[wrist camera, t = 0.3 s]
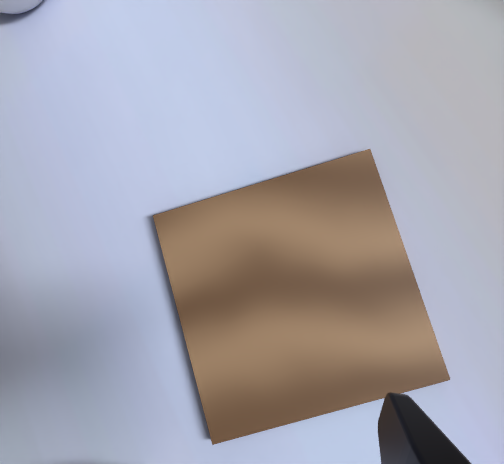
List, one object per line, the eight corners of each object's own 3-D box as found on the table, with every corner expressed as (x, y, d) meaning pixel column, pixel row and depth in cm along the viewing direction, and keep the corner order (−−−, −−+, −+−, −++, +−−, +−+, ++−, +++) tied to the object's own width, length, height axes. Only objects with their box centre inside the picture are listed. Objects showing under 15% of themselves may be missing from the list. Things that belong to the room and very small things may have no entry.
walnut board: (445, 376, 20) (450, 379, 19) (214, 439, 21) (212, 444, 20) (367, 152, 22) (370, 148, 21) (156, 216, 22) (152, 215, 22)
